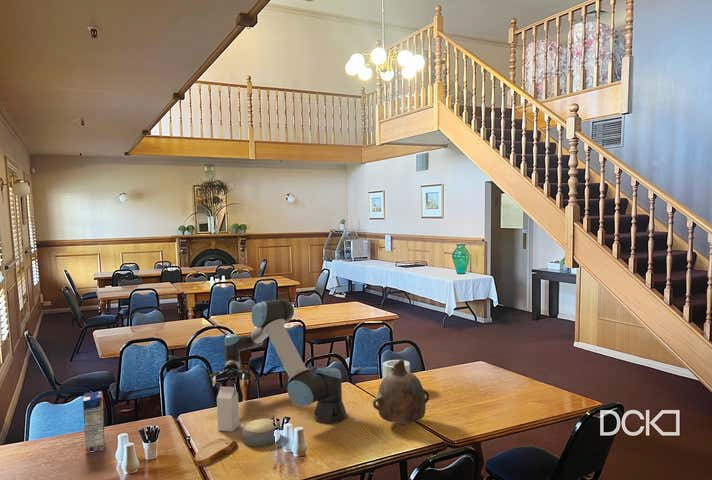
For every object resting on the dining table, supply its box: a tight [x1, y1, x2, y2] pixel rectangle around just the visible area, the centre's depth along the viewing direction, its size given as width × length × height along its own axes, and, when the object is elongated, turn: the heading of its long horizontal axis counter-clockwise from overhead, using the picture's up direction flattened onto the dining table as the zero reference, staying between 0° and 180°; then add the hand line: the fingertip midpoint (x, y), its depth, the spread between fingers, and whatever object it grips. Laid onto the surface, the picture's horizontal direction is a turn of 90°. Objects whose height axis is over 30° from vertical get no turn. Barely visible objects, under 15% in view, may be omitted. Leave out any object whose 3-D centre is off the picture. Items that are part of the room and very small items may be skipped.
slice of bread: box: [193, 438, 238, 467], centre depth 198 cm, size 18×18×4 cm
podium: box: [241, 418, 281, 448], centre depth 210 cm, size 16×16×6 cm
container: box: [382, 359, 411, 380], centre depth 266 cm, size 16×16×15 cm
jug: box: [372, 359, 430, 426], centre depth 218 cm, size 24×21×30 cm
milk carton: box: [216, 386, 240, 432], centre depth 223 cm, size 7×7×19 cm
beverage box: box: [82, 390, 106, 453], centre depth 208 cm, size 7×11×22 cm, turn 27°
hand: (228, 381), depth 232 cm, fingers open, 13 cm apart
